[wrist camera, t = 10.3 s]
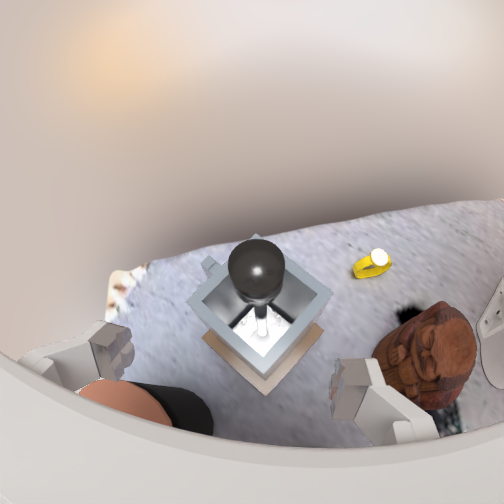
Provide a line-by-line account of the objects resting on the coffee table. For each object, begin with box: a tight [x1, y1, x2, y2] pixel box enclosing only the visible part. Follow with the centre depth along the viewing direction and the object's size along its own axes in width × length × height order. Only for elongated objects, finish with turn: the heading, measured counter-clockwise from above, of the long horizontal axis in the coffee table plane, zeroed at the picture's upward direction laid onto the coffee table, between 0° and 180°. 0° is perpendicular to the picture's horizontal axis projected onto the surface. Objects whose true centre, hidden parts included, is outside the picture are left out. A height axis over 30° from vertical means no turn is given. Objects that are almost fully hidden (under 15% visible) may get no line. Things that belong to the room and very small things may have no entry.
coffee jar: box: [79, 379, 213, 436], centre depth 26 cm, size 11×11×18 cm
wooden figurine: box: [372, 301, 477, 410], centre depth 27 cm, size 12×6×18 cm, turn 7°
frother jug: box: [185, 234, 334, 396], centre depth 32 cm, size 12×14×17 cm
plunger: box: [228, 239, 291, 357], centre depth 27 cm, size 6×6×21 cm
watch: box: [353, 248, 392, 279], centre depth 40 cm, size 6×3×6 cm, turn 97°
